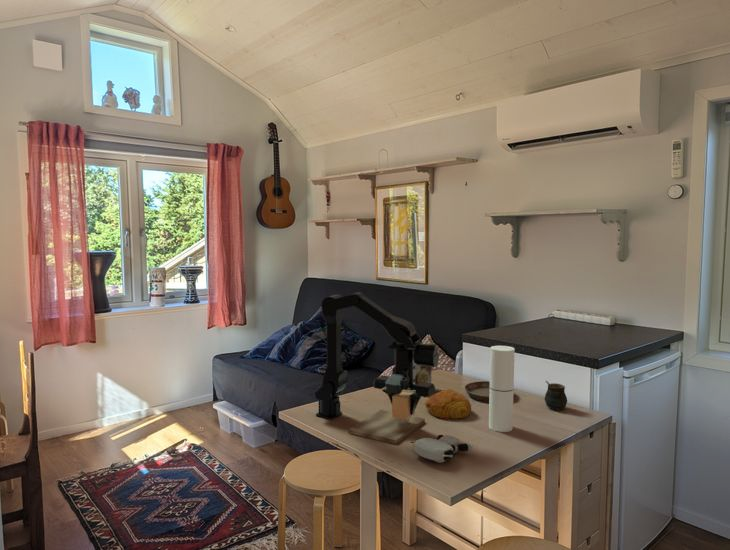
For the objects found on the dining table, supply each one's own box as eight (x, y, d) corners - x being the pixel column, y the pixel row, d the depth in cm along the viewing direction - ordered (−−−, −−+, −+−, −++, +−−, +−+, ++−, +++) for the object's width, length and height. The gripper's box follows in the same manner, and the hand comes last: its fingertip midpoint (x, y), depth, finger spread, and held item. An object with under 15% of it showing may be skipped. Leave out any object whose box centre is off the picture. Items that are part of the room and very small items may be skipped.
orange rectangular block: (392, 416, 164) (392, 395, 164) (399, 411, 169) (400, 391, 168) (407, 420, 161) (407, 398, 161) (414, 414, 166) (414, 394, 165)
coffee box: (419, 384, 210) (420, 344, 208) (431, 388, 205) (432, 347, 204) (403, 389, 204) (403, 347, 203) (415, 393, 199) (415, 350, 198)
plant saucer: (491, 407, 184) (491, 398, 184) (454, 394, 198) (454, 386, 198) (523, 397, 195) (523, 389, 194) (486, 386, 209) (486, 378, 209)
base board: (348, 433, 160) (348, 429, 160) (380, 413, 177) (380, 409, 177) (395, 444, 152) (395, 440, 152) (424, 422, 169) (424, 418, 169)
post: (397, 423, 165) (398, 401, 164) (401, 421, 167) (401, 399, 166) (405, 425, 164) (405, 403, 163) (409, 422, 166) (409, 400, 165)
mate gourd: (571, 410, 181) (572, 381, 180) (554, 413, 178) (554, 384, 177) (556, 403, 187) (557, 375, 186) (539, 406, 185) (540, 378, 184)
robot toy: (440, 444, 155) (405, 455, 144) (441, 429, 155) (406, 439, 144) (475, 457, 146) (441, 470, 136) (476, 441, 146) (442, 453, 135)
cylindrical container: (496, 433, 161) (497, 351, 158) (484, 424, 168) (486, 346, 165) (517, 430, 163) (519, 350, 160) (504, 422, 169) (506, 345, 167)
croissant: (458, 409, 188) (457, 386, 188) (477, 418, 173) (477, 393, 173) (419, 411, 184) (419, 388, 185) (436, 421, 169) (435, 396, 170)
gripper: (364, 365, 161) (364, 415, 163) (420, 374, 152) (420, 427, 153) (382, 357, 171) (382, 404, 172) (436, 365, 161) (435, 415, 163)
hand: (403, 412), depth 165 cm, fingers open, 5 cm apart
